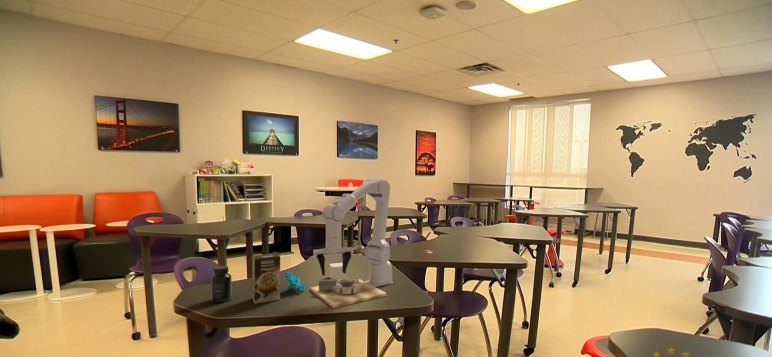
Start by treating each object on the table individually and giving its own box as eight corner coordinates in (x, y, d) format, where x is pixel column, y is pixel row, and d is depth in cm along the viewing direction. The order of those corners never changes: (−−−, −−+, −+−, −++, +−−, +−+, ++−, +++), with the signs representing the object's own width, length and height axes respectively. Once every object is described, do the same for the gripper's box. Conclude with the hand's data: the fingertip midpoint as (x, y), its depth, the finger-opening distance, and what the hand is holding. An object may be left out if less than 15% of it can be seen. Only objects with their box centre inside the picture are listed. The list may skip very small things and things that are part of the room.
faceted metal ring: (361, 284, 139) (361, 275, 139) (361, 293, 128) (361, 284, 128) (321, 285, 138) (321, 276, 138) (317, 294, 127) (317, 285, 127)
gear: (302, 291, 130) (284, 272, 131) (291, 303, 129) (273, 283, 130) (309, 286, 141) (292, 268, 142) (298, 296, 140) (282, 278, 141)
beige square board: (358, 280, 148) (358, 270, 148) (386, 295, 130) (386, 283, 130) (309, 290, 136) (309, 278, 136) (333, 308, 118) (333, 295, 118)
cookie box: (254, 304, 121) (254, 258, 121) (252, 298, 127) (252, 255, 127) (280, 299, 126) (280, 256, 125) (277, 294, 131) (277, 252, 131)
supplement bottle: (235, 298, 127) (235, 265, 127) (221, 304, 121) (221, 270, 121) (221, 295, 130) (221, 264, 130) (206, 302, 123) (206, 269, 123)
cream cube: (332, 281, 148) (332, 267, 148) (329, 277, 154) (329, 263, 154) (345, 279, 150) (345, 265, 150) (342, 275, 156) (342, 262, 156)
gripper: (350, 234, 132) (350, 269, 132) (312, 236, 127) (312, 272, 127) (354, 237, 126) (354, 274, 126) (314, 239, 121) (315, 278, 121)
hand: (333, 273), depth 126 cm, fingers open, 7 cm apart
